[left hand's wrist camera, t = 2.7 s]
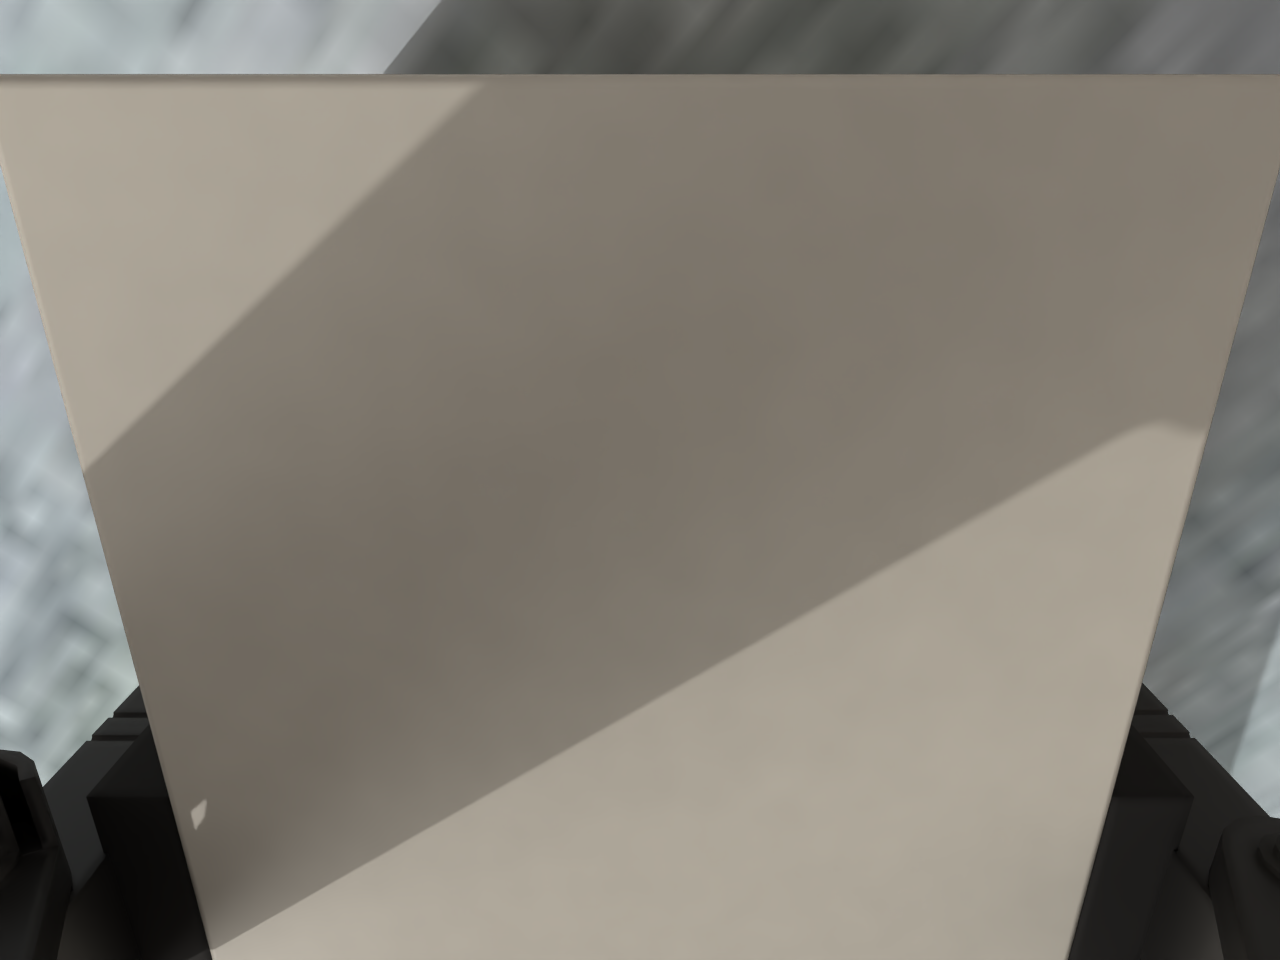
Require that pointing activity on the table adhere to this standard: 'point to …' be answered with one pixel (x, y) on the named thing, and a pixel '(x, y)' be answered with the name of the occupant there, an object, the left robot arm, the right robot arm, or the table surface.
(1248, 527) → the table surface
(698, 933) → the wide beam
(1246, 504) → the table surface
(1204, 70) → the table surface
